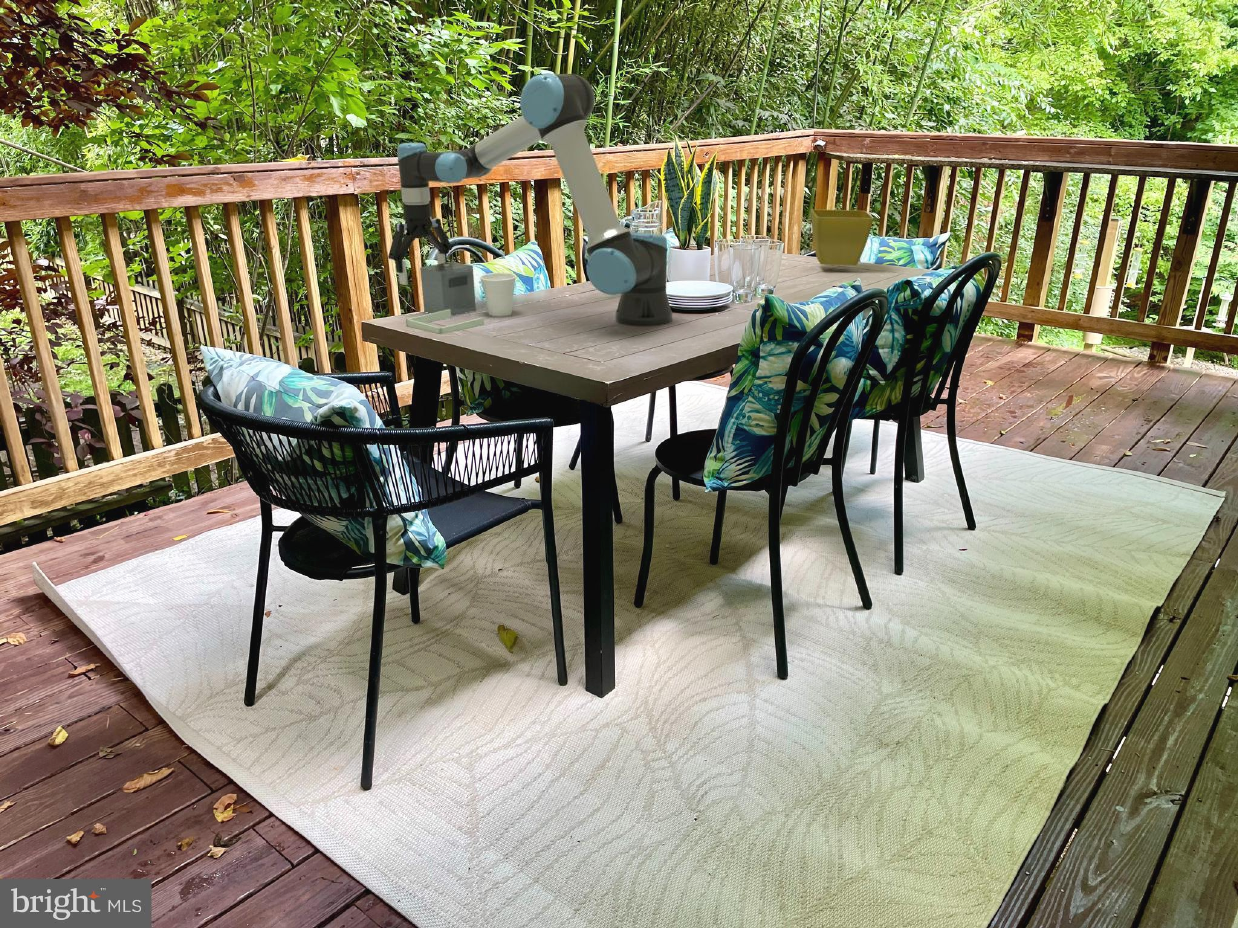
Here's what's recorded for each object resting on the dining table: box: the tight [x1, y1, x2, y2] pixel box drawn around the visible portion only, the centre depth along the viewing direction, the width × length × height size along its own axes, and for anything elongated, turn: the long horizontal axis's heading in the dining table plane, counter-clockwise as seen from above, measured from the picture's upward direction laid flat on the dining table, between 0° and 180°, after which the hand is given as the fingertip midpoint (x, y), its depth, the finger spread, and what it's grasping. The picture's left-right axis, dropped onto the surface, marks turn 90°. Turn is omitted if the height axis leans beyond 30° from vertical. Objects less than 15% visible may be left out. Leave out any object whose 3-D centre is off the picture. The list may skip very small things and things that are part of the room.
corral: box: [405, 309, 485, 335], centre depth 233 cm, size 14×14×3 cm
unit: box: [419, 261, 477, 316], centre depth 247 cm, size 10×11×14 cm
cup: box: [479, 272, 517, 317], centre depth 244 cm, size 10×10×11 cm
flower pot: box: [810, 209, 874, 266], centre depth 312 cm, size 19×19×17 cm
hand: (423, 280), depth 253 cm, fingers open, 13 cm apart
